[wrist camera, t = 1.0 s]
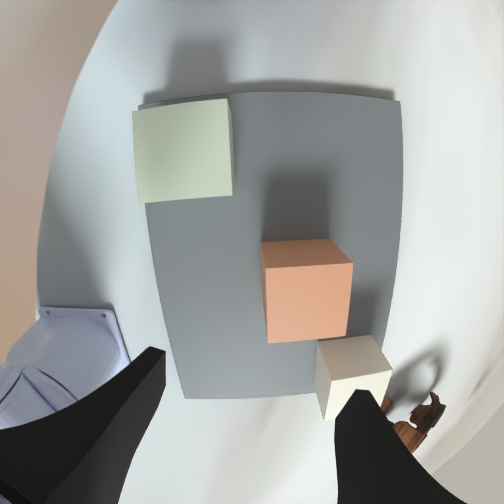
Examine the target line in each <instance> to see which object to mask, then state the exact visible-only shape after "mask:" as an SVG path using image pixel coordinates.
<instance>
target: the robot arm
mask: <svg viewBox="0 0 504 504" xmlns="http://www.w3.org/2000/svg"><path fill="white" fill-rule="evenodd" d="M49 312H50V313H49ZM103 313H104V314H105V315H106V316H104V315H103ZM39 314H40V317H41V318H40V319H39V320H38V321H36V322H35V324H33V326H31V327H30V328H29V329H28V330H27V331H26V332H25V333H24V334H23V336H21V338H19V339H18V340H17V342H16V343H15V344H14V345H13V346H12V348H11V349H10V351H9V353H8V356H7V360H6V362H5V363H3V364H1V365H0V504H118V501H119V498H120V494H121V491H122V488H123V485H124V481H125V478H126V475H127V472H128V470H129V467H130V464H131V461H132V458H133V456H134V454H135V451H136V449H137V447H138V445H139V443H140V441H141V439H142V437H143V435H144V433H145V431H146V430H147V428H148V426H149V424H150V422H151V420H152V418H153V416H154V414H155V412H156V410H157V408H158V405H159V403H160V400H161V397H162V394H163V391H164V389H165V386H166V351H164V350H160V349H157V348H154V347H151V346H150V347H148V348H147V349H146V350H144V351H143V352H142V353H141V354H140V355H139V356H138V357H137V358H136V359H134V360H133V361H132V362H131V363H130V361H129V358H128V355H127V353H126V350H125V347H124V344H123V341H122V337H121V334H120V331H119V328H118V325H117V321H116V318H115V314H114V312H113V311H112V310H110V309H82V308H58V307H40V308H39ZM334 443H335V455H336V467H337V480H338V502H337V504H467V503H465V502H463V501H462V500H460V499H458V498H457V497H455V496H454V495H453V494H451V493H450V492H449V491H448V490H446V489H445V488H444V487H442V486H441V485H440V484H439V483H438V482H437V481H436V480H435V479H434V478H433V477H432V476H431V475H430V474H429V473H428V472H427V471H426V470H425V469H424V468H423V467H422V466H421V465H420V463H419V462H418V461H417V460H416V459H415V458H414V456H413V455H412V454H411V453H410V451H409V450H408V448H407V447H406V446H405V444H404V443H403V442H402V440H401V439H400V437H399V436H398V434H397V433H396V431H395V430H394V428H393V427H392V425H391V424H390V422H389V421H388V419H387V417H386V416H385V414H384V413H383V411H382V409H381V408H380V406H379V405H378V403H377V401H376V400H375V398H374V397H373V395H372V393H371V392H370V390H362V389H355V391H354V392H353V394H352V395H351V397H350V398H349V400H348V401H347V402H346V404H345V405H344V407H343V408H342V410H341V411H340V412H339V414H338V415H337V417H336V418H335V434H334Z"/></svg>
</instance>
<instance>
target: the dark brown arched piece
mask: <svg viewBox="0 0 504 504" xmlns="http://www.w3.org/2000/svg"><path fill="white" fill-rule="evenodd" d="M430 396H431V399H432V403H431V405H420V406H418V407H416V408H415V409H414V411H413V412H412V415H411V416H410V422H411V423H414V424H416V425H417V428H414V427H413V426H411V425H410V424H409V423H408V422H404V421H399V422H397V423H395V424H394V423H393V422H391V421H389V420H388V421H389V422H390V424H391V425H392V427H393V428H394V430H395V431H396V433H397V434H398V436H399V437H400V439H401V440H402V442H403V443H404V444H405V446H406V447H407V448H408V450H409V451H410V453H411V454H412V453H413V452H414V451H415V450H416V449H417V448H418V447H419V445H420V444H421V443H422V441H423V440H424V439H425V438H426V436H427V433H428V431H429V430H430V429H431V427H432V428H433V427H434V426H435V425H436V423H437V422H438V420H439V419H440V417H441V416H442V414H443V412H444V410H445V408H446V406H445V405H443V404H441V403H440V401H439V397H438V395H436V394H435V393H433V392H430ZM391 404H392V401H391V400H390V399H388V398H386V397H385V396H384V398H383V401H382V404H381V406H380V408H381V409H382V411H383V413H384V414H385V412H386V411H387V409H388V408H389V406H390V405H391Z"/></svg>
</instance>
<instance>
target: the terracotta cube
mask: <svg viewBox="0 0 504 504" xmlns="http://www.w3.org/2000/svg"><path fill="white" fill-rule="evenodd" d="M261 264H262V289H263V308H264V316H265V325H266V333H267V341H268V343H281V342H293V341H304V340H314V339H324V338H332V337H340V336H345V335H346V328H347V321H348V312H349V304H350V294H351V284H352V273H353V262H352V261H351V260H350V259H349V258H348V257H347V256H346V255H345V254H344V253H343V252H342V251H341V250H340V249H339V248H338V247H337V246H336V245H335V244H334V243H333V242H332V241H331V240H330V239H312V240H292V241H273V242H261Z"/></svg>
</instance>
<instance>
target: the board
mask: <svg viewBox="0 0 504 504" xmlns="http://www.w3.org/2000/svg"><path fill="white" fill-rule="evenodd" d="M216 99H227V100H228V103H229V106H230V110H231V113H232V130H233V149H234V167H235V184H236V187H235V190H234V193H233V196H218V197H205V198H192V199H181V200H170V201H159V202H150V203H145V208H146V216H147V224H148V231H149V238H150V245H151V251H152V257H153V263H154V269H155V275H156V280H157V286H158V291H159V296H160V301H161V306H162V311H163V315H164V320H165V324H166V329H167V333H168V337H169V342H170V346H171V350H172V354H173V358H174V361H175V365H176V369H177V373H178V376H179V380H180V383H181V387H182V390H183V394H184V397H185V398H187V399H241V398H262V397H276V396H288V395H298V394H307V393H315V392H316V390H315V387H314V383H313V381H314V372H315V362H316V352H317V342H319V341H327V340H336V339H344V338H351V337H358V336H365V335H371V336H372V337H373V339H374V340H375V342H376V343H377V345H378V347H379V348H380V350H381V349H382V345H383V341H384V336H385V332H386V327H387V322H388V317H389V312H390V306H391V300H392V295H393V288H394V282H395V275H396V267H397V259H398V250H399V241H400V229H401V215H402V195H403V138H402V119H401V106H400V101H394V100H388V99H382V98H374V97H366V96H358V95H348V94H336V93H321V92H294V91H268V92H240V93H225V94H213V95H203V96H194V97H186V98H179V99H172V100H166V101H160V102H154V103H148V104H143V105H138V110H143V109H149V108H154V107H160V106H166V105H173V104H180V103H188V102H196V101H205V100H216ZM312 239H330V240H331V241H332V242H333V243H334V244H335V245H336V246H337V247H338V248H339V249H340V250H341V251H342V252H343V253H344V254H345V255H346V256H347V257H348V258H349V259H350V260H351V261H352V262H353V273H352V284H351V294H350V304H349V312H348V321H347V328H346V335H345V336H340V337H332V338H324V339H314V340H304V341H293V342H281V343H268V341H267V333H266V325H265V316H264V308H263V289H262V264H261V242H273V241H292V240H312Z"/></svg>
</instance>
